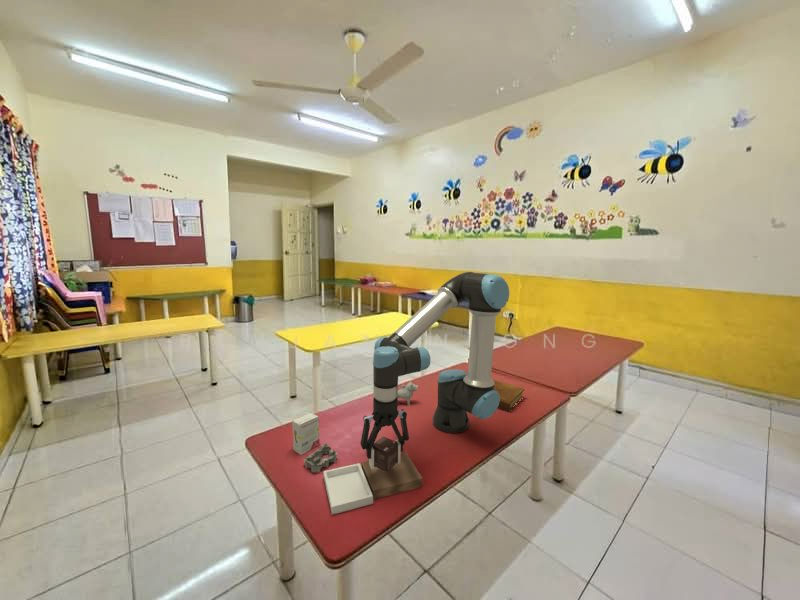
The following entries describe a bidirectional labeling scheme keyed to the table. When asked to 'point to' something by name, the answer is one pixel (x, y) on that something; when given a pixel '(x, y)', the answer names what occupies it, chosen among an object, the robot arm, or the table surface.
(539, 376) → the table surface
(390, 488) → the wooden board
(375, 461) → the box
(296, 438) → the ink box
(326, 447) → the grey lobed frame
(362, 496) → the bin
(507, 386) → the diary
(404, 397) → the dog figurine
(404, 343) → the robot arm
